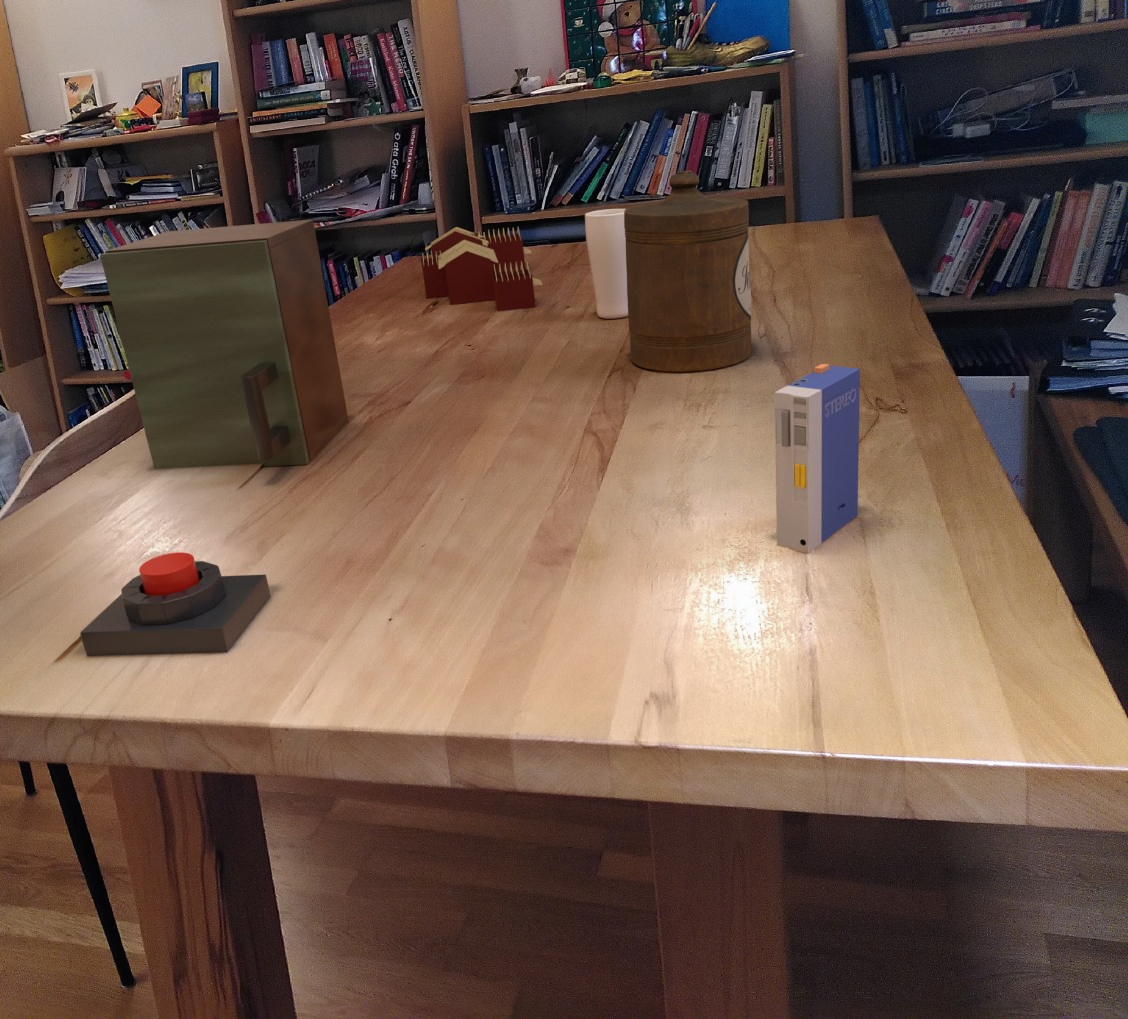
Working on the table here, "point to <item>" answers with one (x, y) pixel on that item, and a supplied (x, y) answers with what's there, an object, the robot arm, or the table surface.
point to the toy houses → (479, 269)
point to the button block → (178, 616)
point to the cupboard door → (207, 354)
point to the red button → (169, 574)
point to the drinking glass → (608, 261)
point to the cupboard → (288, 314)
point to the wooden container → (688, 280)
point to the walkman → (816, 456)
